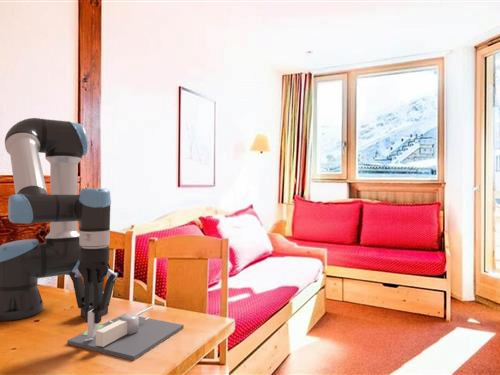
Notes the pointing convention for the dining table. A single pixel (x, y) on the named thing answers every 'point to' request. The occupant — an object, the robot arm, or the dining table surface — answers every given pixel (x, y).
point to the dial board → (131, 338)
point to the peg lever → (119, 328)
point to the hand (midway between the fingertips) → (92, 334)
